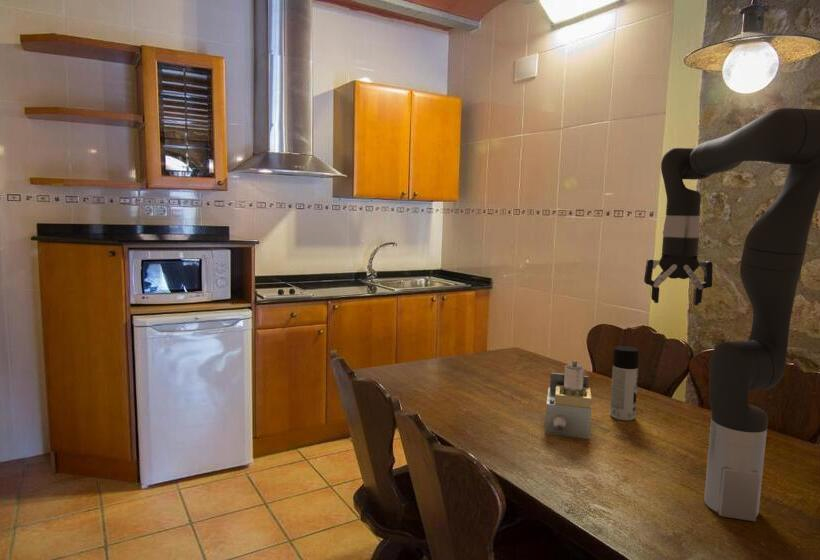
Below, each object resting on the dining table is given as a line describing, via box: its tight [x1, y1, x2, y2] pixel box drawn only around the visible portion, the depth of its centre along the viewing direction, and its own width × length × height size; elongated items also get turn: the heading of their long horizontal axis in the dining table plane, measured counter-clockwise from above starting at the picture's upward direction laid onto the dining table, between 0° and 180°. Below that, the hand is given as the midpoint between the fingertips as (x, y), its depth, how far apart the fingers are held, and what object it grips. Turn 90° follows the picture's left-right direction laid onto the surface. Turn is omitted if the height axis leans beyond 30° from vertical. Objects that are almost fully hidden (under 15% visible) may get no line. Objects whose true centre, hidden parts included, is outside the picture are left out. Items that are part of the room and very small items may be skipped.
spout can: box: [564, 360, 585, 396], centre depth 140 cm, size 5×5×11 cm
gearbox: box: [544, 372, 592, 440], centre depth 141 cm, size 17×11×13 cm, turn 163°
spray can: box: [609, 345, 640, 422], centre depth 150 cm, size 7×7×20 cm
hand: (675, 303), depth 126 cm, fingers open, 8 cm apart
